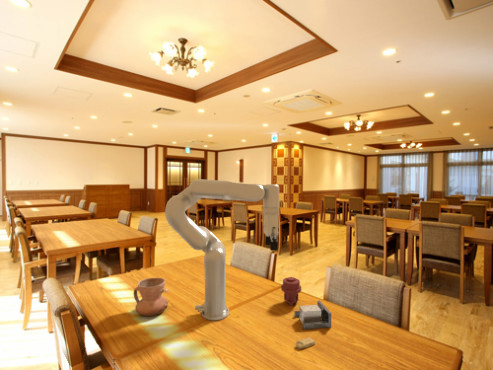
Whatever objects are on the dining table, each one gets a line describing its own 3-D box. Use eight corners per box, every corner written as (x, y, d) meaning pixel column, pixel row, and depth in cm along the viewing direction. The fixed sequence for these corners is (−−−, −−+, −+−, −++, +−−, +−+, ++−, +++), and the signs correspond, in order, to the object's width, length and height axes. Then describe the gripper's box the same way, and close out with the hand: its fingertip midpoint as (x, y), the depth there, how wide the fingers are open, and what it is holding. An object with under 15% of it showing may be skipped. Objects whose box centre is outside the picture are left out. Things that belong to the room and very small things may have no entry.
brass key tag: (299, 350, 97) (299, 347, 96) (294, 345, 99) (294, 342, 99) (314, 344, 100) (314, 341, 100) (309, 340, 103) (309, 336, 103)
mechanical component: (301, 299, 137) (301, 308, 127) (281, 297, 139) (280, 306, 129) (301, 275, 137) (301, 283, 127) (281, 274, 139) (280, 281, 129)
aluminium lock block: (303, 325, 113) (303, 311, 113) (299, 319, 118) (299, 306, 118) (322, 323, 114) (322, 310, 114) (318, 317, 119) (318, 304, 119)
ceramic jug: (176, 306, 130) (175, 277, 129) (159, 321, 116) (158, 289, 115) (144, 302, 134) (144, 274, 134) (124, 316, 120) (123, 285, 120)
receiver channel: (303, 329, 110) (303, 315, 109) (294, 315, 121) (294, 302, 121) (331, 327, 111) (331, 313, 111) (319, 313, 123) (319, 300, 122)
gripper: (259, 208, 131) (259, 243, 132) (267, 213, 114) (267, 253, 115) (274, 208, 132) (274, 242, 133) (284, 213, 115) (284, 252, 116)
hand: (271, 247), depth 124 cm, fingers open, 9 cm apart
